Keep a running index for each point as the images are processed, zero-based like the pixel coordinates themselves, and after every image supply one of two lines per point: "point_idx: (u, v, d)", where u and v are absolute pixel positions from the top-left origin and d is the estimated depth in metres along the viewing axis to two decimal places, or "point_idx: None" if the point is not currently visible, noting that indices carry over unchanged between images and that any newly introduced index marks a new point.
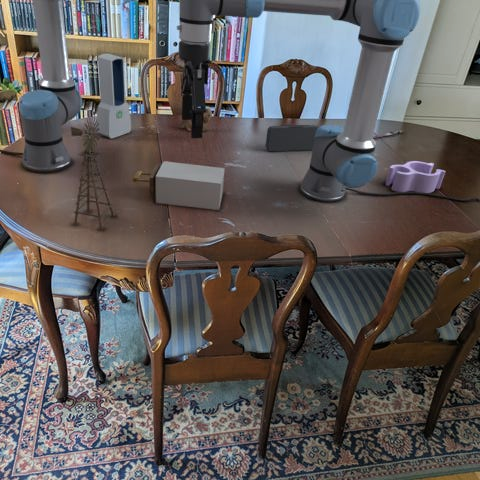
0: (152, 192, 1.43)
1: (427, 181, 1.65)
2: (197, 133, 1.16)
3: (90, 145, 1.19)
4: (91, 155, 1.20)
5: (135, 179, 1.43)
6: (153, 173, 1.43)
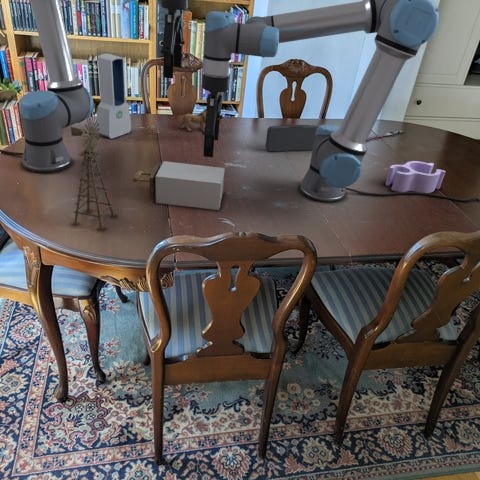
0: (152, 192, 1.43)
1: (427, 181, 1.65)
2: None
3: (90, 145, 1.19)
4: (91, 155, 1.20)
5: (135, 179, 1.43)
6: (153, 173, 1.43)
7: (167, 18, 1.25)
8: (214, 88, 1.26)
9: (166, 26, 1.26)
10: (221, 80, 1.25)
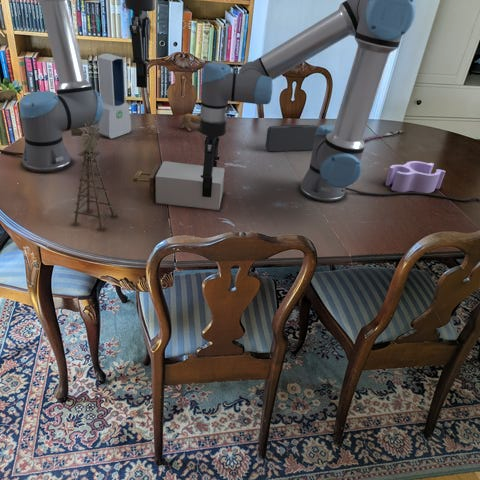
0: (152, 192, 1.43)
1: (427, 181, 1.65)
2: None
3: (90, 145, 1.19)
4: (91, 155, 1.20)
5: (135, 179, 1.43)
6: (153, 173, 1.43)
7: (132, 30, 1.17)
8: (211, 133, 1.33)
9: (133, 37, 1.19)
10: (218, 126, 1.32)
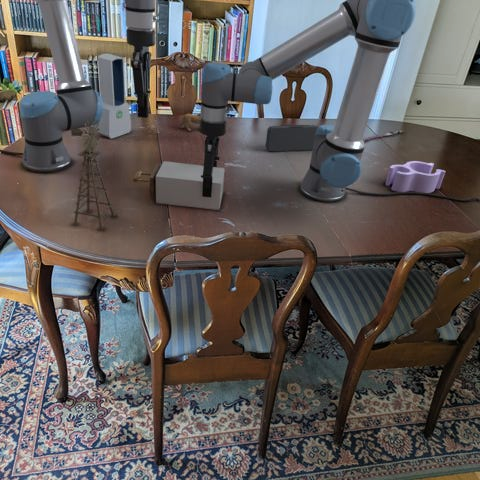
0: (152, 192, 1.43)
1: (427, 181, 1.65)
2: None
3: (90, 145, 1.19)
4: (91, 155, 1.20)
5: (135, 179, 1.43)
6: (153, 173, 1.42)
7: (134, 65, 1.22)
8: (211, 133, 1.33)
9: (134, 71, 1.23)
10: (218, 126, 1.32)
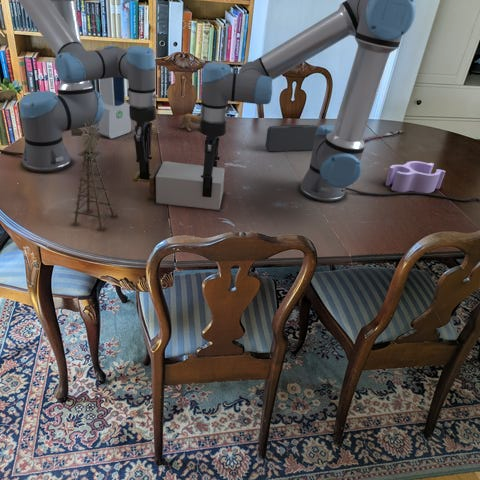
0: (152, 192, 1.43)
1: (427, 181, 1.65)
2: None
3: (90, 145, 1.19)
4: (91, 155, 1.20)
5: (135, 179, 1.43)
6: (153, 173, 1.42)
7: (136, 139, 1.33)
8: (211, 133, 1.33)
9: (136, 144, 1.34)
10: (218, 126, 1.32)
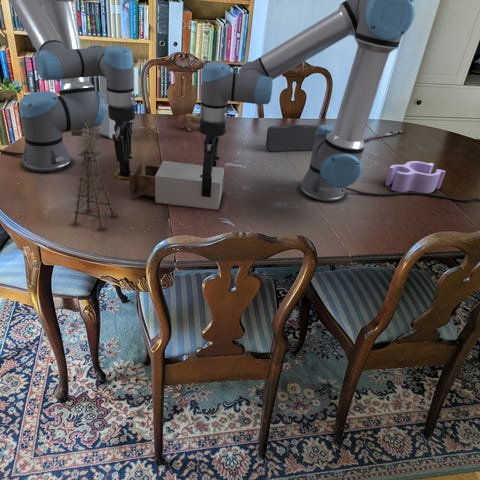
0: (133, 189, 1.43)
1: (427, 181, 1.65)
2: None
3: (90, 145, 1.19)
4: (91, 155, 1.20)
5: (116, 176, 1.43)
6: (134, 170, 1.43)
7: (115, 139, 1.33)
8: (211, 133, 1.33)
9: (116, 143, 1.35)
10: (218, 125, 1.32)
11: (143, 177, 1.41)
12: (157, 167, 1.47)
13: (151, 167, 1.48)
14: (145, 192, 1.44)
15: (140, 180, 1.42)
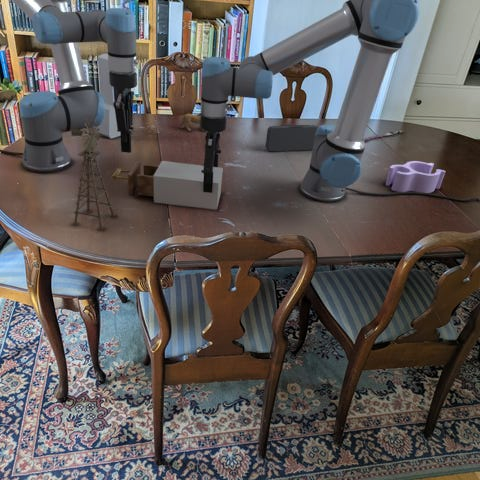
0: (131, 189, 1.43)
1: (427, 181, 1.65)
2: None
3: (90, 145, 1.19)
4: (91, 155, 1.20)
5: (114, 176, 1.43)
6: (132, 170, 1.43)
7: (116, 106, 1.28)
8: (212, 129, 1.32)
9: (117, 112, 1.30)
10: (218, 121, 1.31)
11: (141, 177, 1.41)
12: (155, 167, 1.48)
13: (150, 167, 1.48)
14: (143, 192, 1.44)
15: (138, 180, 1.42)
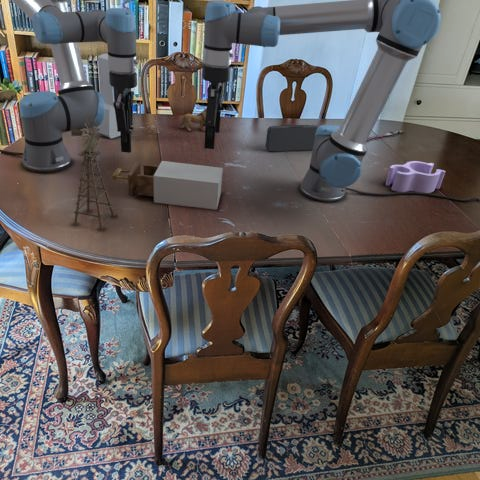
0: (131, 189, 1.43)
1: (427, 181, 1.65)
2: None
3: (90, 145, 1.19)
4: (91, 155, 1.20)
5: (114, 176, 1.43)
6: (132, 170, 1.43)
7: (116, 106, 1.28)
8: (214, 79, 1.24)
9: (117, 112, 1.30)
10: (222, 70, 1.24)
11: (141, 177, 1.41)
12: (155, 167, 1.48)
13: (149, 167, 1.48)
14: (143, 192, 1.44)
15: (138, 180, 1.42)
